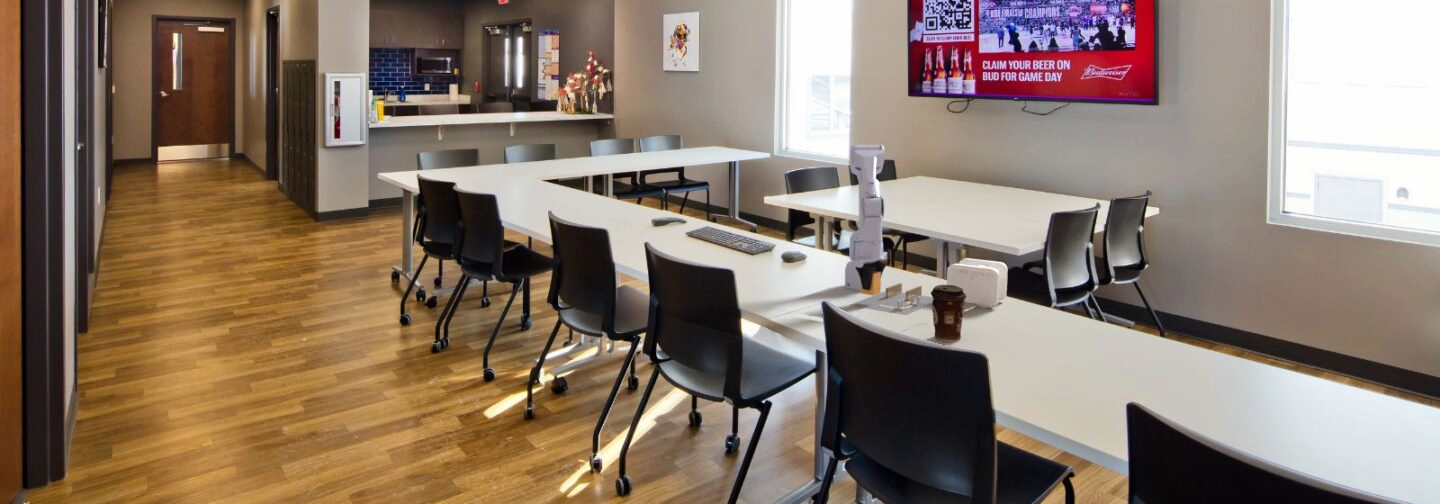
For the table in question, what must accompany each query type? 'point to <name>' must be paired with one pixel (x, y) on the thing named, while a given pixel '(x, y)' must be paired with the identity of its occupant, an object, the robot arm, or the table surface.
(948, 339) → the coffee cup
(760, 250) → the table surface
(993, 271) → the cable organizer
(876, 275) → the orange rectangular block
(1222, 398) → the table surface
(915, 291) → the end holder
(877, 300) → the mat
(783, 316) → the table surface
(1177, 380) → the table surface
